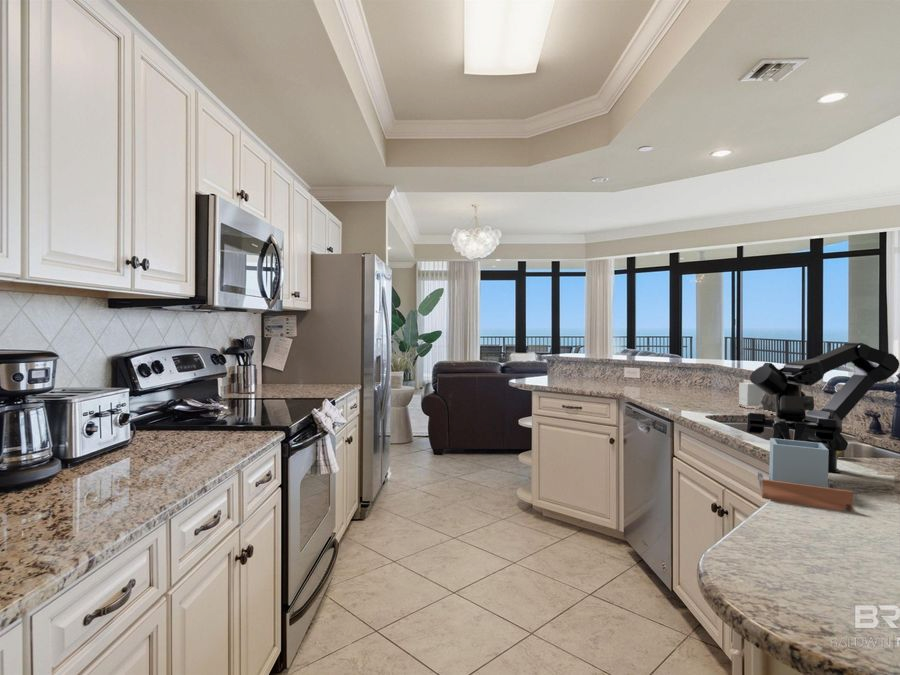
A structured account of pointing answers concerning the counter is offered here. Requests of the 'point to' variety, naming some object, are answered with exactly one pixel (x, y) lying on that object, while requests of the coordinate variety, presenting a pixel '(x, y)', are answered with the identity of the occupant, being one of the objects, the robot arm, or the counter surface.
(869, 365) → the robot arm
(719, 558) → the counter surface
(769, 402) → the owl
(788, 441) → the box
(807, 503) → the brown wooden tray
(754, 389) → the supplement box
